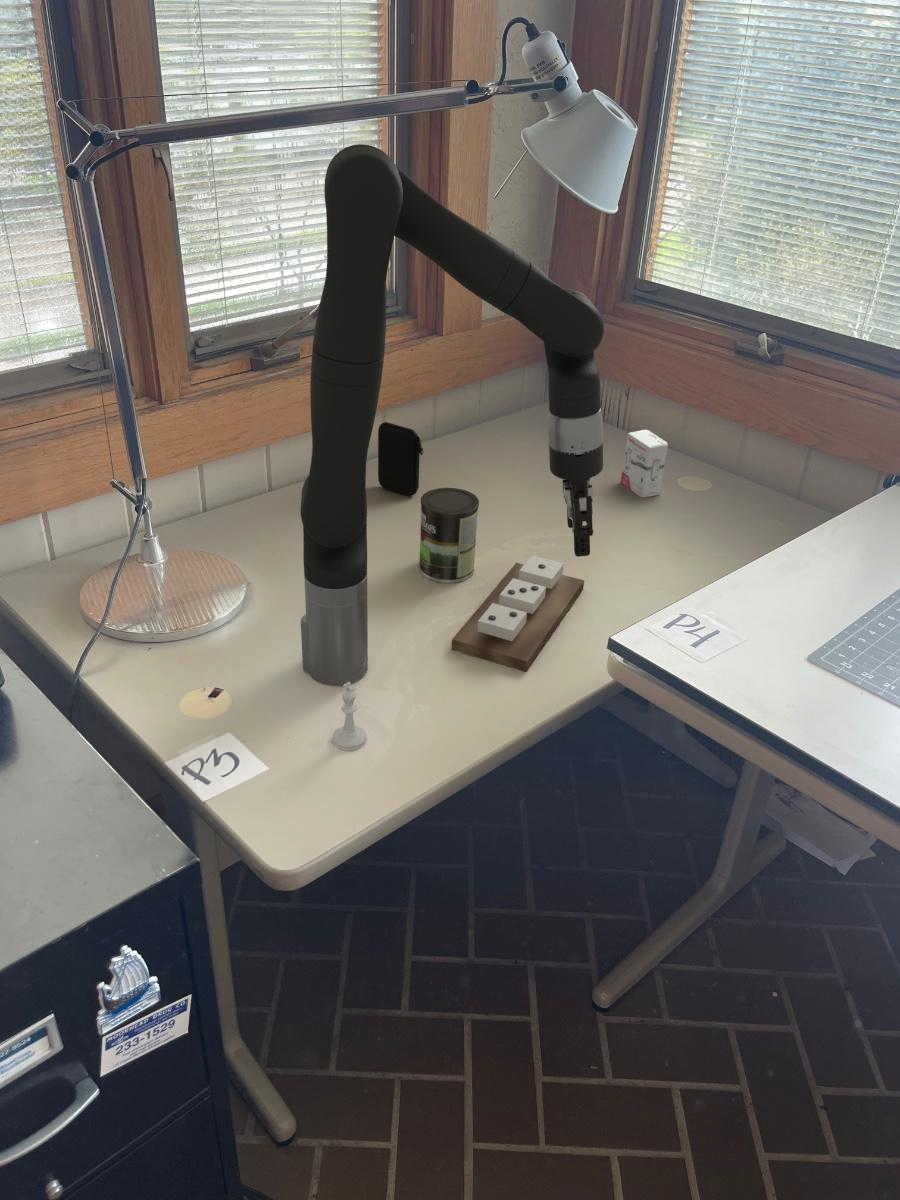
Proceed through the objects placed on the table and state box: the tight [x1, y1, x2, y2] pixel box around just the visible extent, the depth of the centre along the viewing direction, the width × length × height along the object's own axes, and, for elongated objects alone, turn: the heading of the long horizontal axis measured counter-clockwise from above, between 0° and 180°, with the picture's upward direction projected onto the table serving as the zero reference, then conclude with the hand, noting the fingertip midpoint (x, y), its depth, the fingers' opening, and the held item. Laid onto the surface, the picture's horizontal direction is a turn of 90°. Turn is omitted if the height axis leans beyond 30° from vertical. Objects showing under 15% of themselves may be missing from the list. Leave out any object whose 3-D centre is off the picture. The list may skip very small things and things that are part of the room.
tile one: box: [519, 555, 565, 589], centre depth 177 cm, size 6×6×2 cm
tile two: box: [478, 603, 527, 641], centre depth 163 cm, size 6×6×2 cm
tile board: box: [451, 562, 585, 673], centre depth 172 cm, size 13×28×2 cm, turn 155°
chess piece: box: [331, 682, 368, 752], centre depth 141 cm, size 5×5×10 cm
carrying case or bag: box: [377, 421, 424, 497], centre depth 207 cm, size 11×3×15 cm, turn 58°
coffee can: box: [418, 487, 480, 584], centre depth 182 cm, size 10×10×14 cm
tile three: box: [499, 578, 546, 614], centre depth 170 cm, size 6×6×2 cm
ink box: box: [620, 429, 669, 499], centre depth 214 cm, size 9×5×12 cm, turn 25°
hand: (578, 540), depth 150 cm, fingers open, 8 cm apart
